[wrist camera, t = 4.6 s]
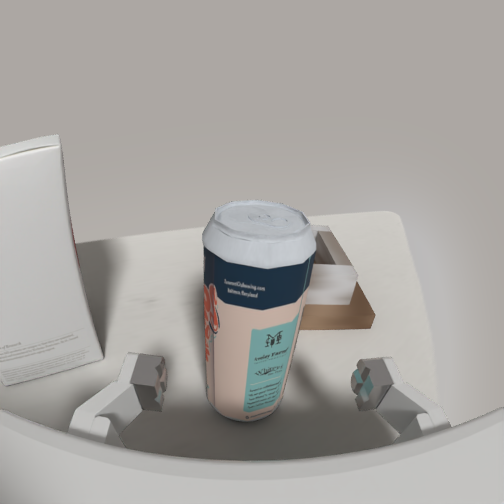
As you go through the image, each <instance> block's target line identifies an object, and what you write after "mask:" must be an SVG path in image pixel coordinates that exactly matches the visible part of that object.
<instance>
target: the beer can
mask: <svg viewBox="0 0 504 504" xmlns="http://www.w3.org/2000/svg"><path fill="white" fill-rule="evenodd" d="M202 241H203V245H204V315H205V348H206V371H207V387H206V389H207V397H208V400H209V402H210V404H211V405H212V407H213V408H214V409H215V410H216V411H217V412H219V413H220V414H221V415H223V416H225V417H227V418H229V419H232V420H236V421H244V422H246V421H256V420H259V419H262V418H265V417H267V416H268V415H270V414H271V413H273V412H274V411H275V410H276V409H277V407H278V406H279V404H280V402H281V400H282V397H283V393H284V389H285V385H286V382H287V378H288V374H289V370H290V366H291V362H292V358H293V354H294V350H295V346H296V342H297V338H298V333H299V329H300V325H301V321H302V316H303V312H304V307H305V303H306V298H307V293H308V289H309V284H310V279H311V274H312V269H313V264H314V259H315V254H316V241H315V239H314V236H313V233H312V230H311V226H310V221H309V220H308V218H307V217H306V216H305V214H304V213H303V212H302V211H299V210H297V209H294V208H292V207H290V206H287V205H285V204H282V203H274V202H268V201H261V200H246V201H232V202H229V203H227V204H224V205H222V206H220V207H217V208H215V212H214V214H213V216H212V217H211V219H210V221H209V223H208V225H207V226H206V228H205V230H204V231H203V234H202Z"/></svg>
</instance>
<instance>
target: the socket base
mask: <svg viewBox="0 0 504 504" xmlns="http://www.w3.org/2000/svg"><path fill="white" fill-rule="evenodd" d="M310 226H311V230H312V233H313V236H314V239H315V241H316V254H315V259H314V264H313V269H312V274H311V279H310V284H309V289H308V293H307V298H306V303H305V307H304V312H303V316H302V321H301V325H300V329H299V330H337V329H370V328H371V326H372V323H373V320H374V318H375V313H374V311H373V310H372V308H371V306H370V304H369V302H368V300H367V299H366V297H365V295H364V293H363V291H362V289H361V288H360V286H359V284H358V282H357V278H358V274H357V272H356V270H355V269H354V267H353V265H352V264H351V262H350V260H349V259H348V257H347V256H346V254H345V252H344V251H343V249H342V248H341V246H340V244H339V243H338V241H337V240H336V238H335V236H334V235H333V233H332V232H331V230H330V229H329V227H328V226H320V225H310Z"/></svg>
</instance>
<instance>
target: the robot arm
mask: <svg viewBox="0 0 504 504" xmlns="http://www.w3.org/2000/svg"><path fill="white" fill-rule="evenodd" d="M164 365H165V360H164V357H161V356H154V355H146V354H139V353H132V352H128V353H127V355H126V357H125V360H124V362H123V365H122V368H121V371H120V374H119V377H118V380H117V381H113V382H112V383H110V384H109V385H108V386H106V387H105V388H104V389H102V390H101V391H100V392H98V393H97V394H96V395H94V396H93V397H92V398H90V399H89V400H87V401H86V402H85V403H83V404H82V405H81V406H79V407H78V408H77V409H75V412H74V415H73V417H72V420H71V423H70V426H69V428H68V431H67V433H65V432H62V431H58V430H55V429H53V428H50V427H47V426H44V425H41V424H39V423H36V422H33V421H31V420H28V419H26V418H23V417H21V416H18V415H16V414H14V413H11V412H9V411H7V410H4V409H0V504H504V407H501V408H498V409H496V410H493V411H491V412H489V413H487V414H485V415H482V416H480V417H477V418H475V419H472V420H470V421H467V422H464V423H462V424H459V425H456V426H454V427H451V425H450V423H449V421H448V418H447V416H446V414H445V412H444V410H443V408H442V407H441V406H440V405H438V404H437V403H435V402H434V401H432V400H431V399H430V398H428V397H427V396H425V395H424V394H423V393H421V392H420V391H418V390H417V389H416V388H414V387H413V386H411V385H410V384H409V383H404V381H403V379H402V377H401V374H400V372H399V370H398V368H397V366H396V364H395V362H394V360H393V358H392V357H382V358H370V359H360V360H359V361H358V363H357V368H358V369H357V370H355V371H354V372H353V374H352V377H351V388H352V391H353V392H354V393H355V394H356V395H357V397H356V399H355V400H356V403H357V406H358V409H359V411H366V410H374V409H376V411H377V412H378V413H379V414H380V415H381V416H382V417H383V418H384V419H385V420H386V421H387V422H388V423H389V424H390V425H391V426H392V427H393V428H394V429H395V430H396V431H397V432H398V433H399V434H400V436H399V437H398V438H397V439H396V440H395V441H394V443H393V444H392V445H387V446H383V447H378V448H373V449H368V450H363V451H357V452H351V453H345V454H338V455H330V456H322V457H313V458H302V459H287V460H260V461H239V460H212V459H198V458H187V457H177V456H169V455H162V454H155V453H149V452H143V451H137V450H132V449H127V448H126V447H125V446H124V444H123V442H122V441H121V439H120V437H119V436H118V435H119V434H120V433H121V432H122V431H123V430H124V429H125V428H126V427H127V426H128V425H129V424H130V423H131V422H132V421H133V420H134V419H135V418H136V417H137V416H138V415H139V413H140V412H141V411H142V410H150V411H159V412H162V408H163V403H164V396H163V393H164V392H165V391H166V387H167V370H166V369H165V368H164Z"/></svg>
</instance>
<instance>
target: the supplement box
mask: <svg viewBox="0 0 504 504" xmlns="http://www.w3.org/2000/svg"><path fill="white" fill-rule="evenodd" d="M103 358H104V356H103V353H102V350H101V346H100V343H99V340H98V337H97V333H96V330H95V326H94V323H93V319H92V315H91V312H90V308H89V304H88V300H87V296H86V292H85V288H84V283H83V279H82V275H81V270H80V265H79V261H78V256H77V251H76V246H75V240H74V235H73V229H72V223H71V217H70V210H69V203H68V195H67V187H66V179H65V169H64V160H63V152H62V145H61V140H60V136H59V135H58V134H57V135H52V136H44V137H39V138H35V139H31V140H27V141H22V142H18V143H14V144H10V145H6V146H2V147H0V379H1V381H2V382H3V384H4V385H5V386H9V385H13V384H17V383H21V382H24V381H28V380H32V379H36V378H40V377H43V376H47V375H51V374H54V373H58V372H61V371H65V370H68V369H72V368H75V367H78V366H82V365H85V364H88V363H92V362H95V361H99V360H102V359H103Z"/></svg>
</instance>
